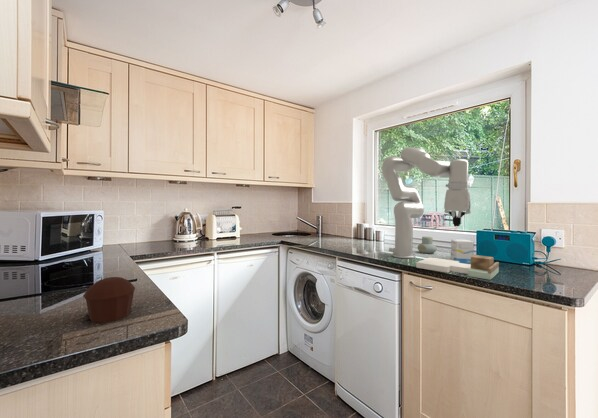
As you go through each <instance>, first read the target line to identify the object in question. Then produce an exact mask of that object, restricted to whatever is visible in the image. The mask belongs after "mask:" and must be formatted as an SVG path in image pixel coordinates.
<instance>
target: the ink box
mask: <svg viewBox="0 0 598 418" xmlns="http://www.w3.org/2000/svg"><path fill="white" fill-rule="evenodd" d="M474 245H475V242H474V241H473V240H469V239H459V238H456V239H451V240H450V260H453V261H459V263H464V264H471V257H472V256H474V255H475V254H474V253H475V252H474V250H475V248H474Z"/></svg>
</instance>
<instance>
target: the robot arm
mask: <svg viewBox="0 0 598 418" xmlns="http://www.w3.org/2000/svg"><path fill="white" fill-rule="evenodd" d="M399 155H400V156H398V155H397V156H396V155H395V156H394V155H393V156H387V157H386V158H385V159H384V160H383V161H382V165H381V172H382V175H383V177H384V179H385V181H386V183H387V187H388V190H389V193H390V196H391V198H392V200H393V201H394V202H396V204H395V205H394V206H393V215H394V222H395V223H394V225H395V226H394V230H395V231H394V247H389V248H388V252H392V254H391V256H392V257H395V258H397V259H398V258H399V259H414V258H416V255H415V254H413V238H414V236H413V235H414V227H413V222H412V220H411V219H418V218H421V217H422V216H423V215H424V213H425V208H424V205H423V202H422V200H421V197H420V194H419V191H418V190H417V189H416V187H415V186H412V185H405V184H404V182H403V179H402V177H401V176H400V174H399V173H398V172H409V171H411V170H412V169H414V168H417V169H418V170H419V171H421V172H422V173H423V174H427V175H429V176H431V177H441V178H442V177H443V178H448V183H447V184H445V188H447V189H446V192H445V196H444V203H443V204H444V205H443V209H444V211H443V212H444V213H445V214H448V215H450V216H451V218H452V225H453V227H460V225H462V218H463V216H465V215H470V214H471V194H470V189H468V182H469V178H468V176H469V161H468V160H467V159H463V158H462V159H453V160H450V161H446V160H445V161H444V160H435V159H433V158H431V156H430V154H429V153H428V152H426V151H425V149H423V148H422V147H414V146H413V147H412V146H408V147H405V148H403V149H402V150H401V151H400V154H399ZM457 212H458V213H457Z"/></svg>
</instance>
